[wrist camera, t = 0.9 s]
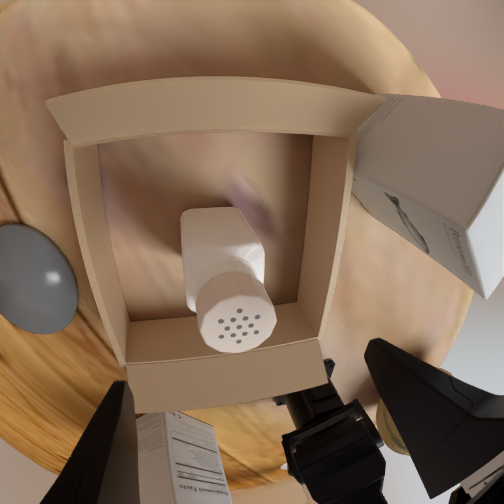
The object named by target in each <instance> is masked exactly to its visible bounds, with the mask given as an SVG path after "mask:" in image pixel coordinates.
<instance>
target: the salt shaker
mask: <svg viewBox="0 0 504 504" xmlns="http://www.w3.org/2000/svg"><path fill="white" fill-rule="evenodd" d="M180 224H181V244H182V260H183V272H184V284H185V294H186V303H187V306H188V307H189V308H190V310H191V311H194V312H196V314H197V318H198V319H197V321H198V327H199V331H200V333H201V335H202V337H203V340H204V342H205V344H207V345H209V346H210V347H212V348H214V349H216V350H218V351H220V352H229V353H240V352H243V351H246V350H249V349H252V348H255V347H257V346H258V345H260V344H261V343H262V342H263V341H265V340H266V339H267V338H268V337H269V336H270V335H271V333H272V331H273V329H274V326H275V324H276V322H277V319H276V314H275V310H274V306H273V304H272V302H271V300H270V298H269V296H268V294H267V292H266V290H265V288H264V286H263V281H264V256H265V253H264V249H263V247H262V245H261V242H260V241H259V239H258V238H257V236H256V234H255V233H254V231H253V230H252V228H251V227H250V225H249V223H248V222H247V220H246V219H245V217H244V216H243V214H242V213H241V211H240V209H238V208H235V207H215V208H197V209H188V210H186V211H184V212H183V213H182V215H181V218H180Z"/></svg>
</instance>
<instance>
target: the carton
mask: <svg viewBox="0 0 504 504" xmlns="http://www.w3.org/2000/svg"><path fill="white" fill-rule="evenodd" d="M385 102H386V99H385V97H381V96H377V95H373V94H369V93H364V92H360V91H355V90H350V89H345V88H340V87H335V86H329V85H323V84H316V83H309V82H302V81H294V80H284V79H274V78H260V77H239V76H195V77H175V78H162V79H151V80H142V81H134V82H126V83H120V84H113V85H108V86H102V87H97V88H92V89H87V90H82V91H78V92H73V93H69V94H65V95H61V96H58V97H54V98H50V99H47V100H46V101H45V105H46V107H47V108H48V110H49V111H50V113H51V115H52V116H53V118H54V119H55V121H56V122H57V124H58V125H59V127H60V128H61V130H62V131H63V133H64V134H65V136H66V137H67V139H66V140H63V146H64V157H65V166H66V174H67V182H68V188H69V195H70V201H71V207H72V212H73V217H74V222H75V227H76V232H77V236H78V241H79V245H80V249H81V253H82V257H83V261H84V265H85V268H86V272H87V276H88V279H89V282H90V286H91V289H92V292H93V295H94V299H95V302H96V305H97V308H98V311H99V313H100V316H101V319H102V322H103V325H104V327H105V330H106V333H107V335H108V338H109V340H110V343H111V345H112V348H113V350H114V353H115V355H116V357H117V360H118V362H119V364H120V367H121V368H127V377H128V385H129V387H130V389H131V391H132V394H133V397H134V406H135V414H139V413H161V412H174V411H186V410H195V409H204V408H212V407H219V406H226V405H232V404H239V403H244V402H250V401H255V400H260V399H265V398H270V397H275V396H280V395H284V394H288V393H292V392H297V391H301V390H305V389H308V388H312V387H316V386H319V385H323V384H326V383H328V379H327V375H326V370H325V366H324V362H323V357H322V353H321V349H320V345H319V341H322V340H323V338H324V334H325V330H326V325H327V321H328V317H329V313H330V308H331V304H332V299H333V295H334V290H335V285H336V280H337V276H338V270H339V265H340V260H341V255H342V249H343V243H344V237H345V231H346V225H347V219H348V212H349V205H350V198H351V190H352V182H353V173H354V164H355V155H356V144H357V132H358V130H356V129H357V128H358V127H359V126H360V125H362V124H363V123H364V122H365V121H366V120H367V119H368V118H369V117H370V116H371V115H372V114H373V113H374V112H375V111H376V110H377V109H378V108H380V107H381V106H382V105H383V104H384V103H385ZM221 132H269V133H295V134H311V135H313V148H312V162H311V175H310V187H309V199H308V210H307V220H306V229H305V239H304V248H303V256H302V265H301V273H300V281H299V288H298V296H297V302H294V303H287V304H281V305H274V310H275V314H276V319H277V322H276V324H275V326H274V329H273V331H272V333H271V335H270V336H269V337H268V338H267V339H266V340H265V341H263V342H262V343H261V344H260V345H258V346H257V347H255V348H252V349H249V350H246V351H243V352H240V353H229V352H220V351H218V350H216V349H214V348H212V347H210V346H209V345H207V344H205V342H204V340H203V337H202V335H201V333H200V331H199V327H198V321H197V319H198V318H197V316H188V317H178V318H167V319H156V320H144V321H131V322H130V319H129V315H128V312H127V308H126V305H125V301H124V297H123V294H122V290H121V286H120V282H119V278H118V274H117V269H116V265H115V260H114V256H113V251H112V246H111V241H110V236H109V230H108V225H107V219H106V213H105V206H104V199H103V192H102V184H101V176H100V166H99V155H98V144H101V143H107V142H114V141H121V140H129V139H137V138H146V137H155V136H166V135H179V134H195V133H221Z"/></svg>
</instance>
